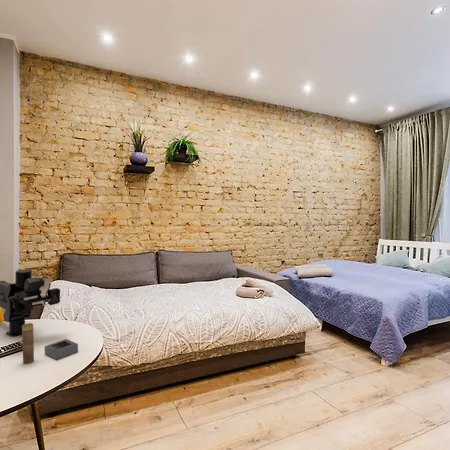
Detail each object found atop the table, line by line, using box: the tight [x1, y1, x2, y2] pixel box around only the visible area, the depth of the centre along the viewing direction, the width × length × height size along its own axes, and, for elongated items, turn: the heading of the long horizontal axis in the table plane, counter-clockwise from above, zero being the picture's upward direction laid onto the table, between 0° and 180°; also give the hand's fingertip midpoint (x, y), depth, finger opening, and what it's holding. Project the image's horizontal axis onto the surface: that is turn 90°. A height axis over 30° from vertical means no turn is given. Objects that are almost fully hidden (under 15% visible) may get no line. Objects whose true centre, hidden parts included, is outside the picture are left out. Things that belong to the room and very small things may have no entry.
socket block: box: [44, 338, 79, 361], centre depth 116 cm, size 8×8×3 cm
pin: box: [21, 322, 35, 365], centre depth 109 cm, size 3×3×13 cm
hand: (45, 305), depth 120 cm, fingers open, 9 cm apart
